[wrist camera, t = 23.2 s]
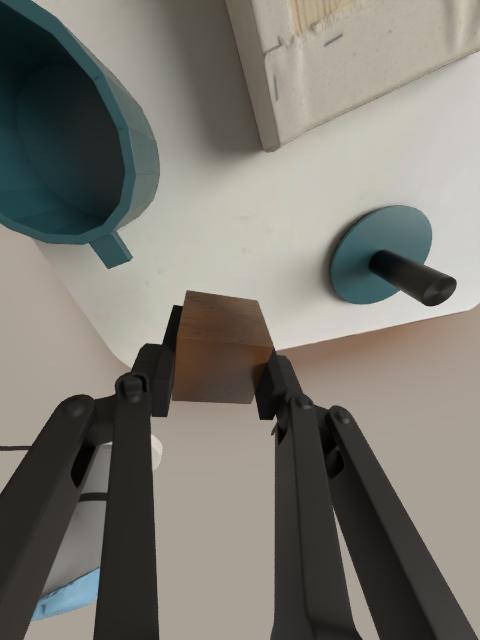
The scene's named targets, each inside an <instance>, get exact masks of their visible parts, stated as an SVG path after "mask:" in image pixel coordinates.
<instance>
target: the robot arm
mask: <svg viewBox="0 0 480 640" xmlns="http://www.w3.org/2000/svg"><path fill="white" fill-rule="evenodd" d="M182 310H183V306H178V305H173V309H172V312H171V315H170V319H169V322H168V326H167V329H166V333H165V336H164V339H163V343H162V345H160V344H149V343H146V344H145V345H144V346H143V347H142V348H141V349H140V350H139V353H138V355H137V358H136V360H135V363H134V365H133V367H132V370H131V372H128V373H125V374H124V375H122V376H120V377H119V378H118V379H117V381H116V383H115V391H116V394H114V395H112V396H109V397H105V398H100V399H95V400H94V399H93V398H92V397H90V396H88V395H83V394H81V395H75V396H72V397H69V398H67V399H65V400H64V401H62V402H61V403H60V404H59V405H58V406H57V408H56V409H55V410H54V412H53V414H52V415H51V417H50V418H49V420H48V421H47V423H46V424H45V426H44V427H43V429H42V430H41V432H40V434H39V435H38V437H37V438H36V440H35V441H34V443H33V444H32V446H11V447H8V446H0V451H13V450H29V451H28V452H27V454H26V455H25V457H24V458H23V460H22V462H21V463H20V465H19V466H18V468H17V469H16V471H15V472H14V474H13V475H12V477H11V478H10V480H9V482H8V483H7V485H6V486H5V488H4V489H3V491H2V492H1V494H0V640H23V639H24V636H25V634H26V631H27V629H28V626H29V624H30V622H32V621H36V620H40V619H44V618H48V617H52V616H55V615H59V614H62V613H66V612H69V611H72V610H75V609H79V608H82V607H84V606H87V605H89V604H91V603H93V602H94V601H95V600H96V599H97V605H96V616H95V617H96V618H95V626H94V638H93V640H159V624H158V598H157V574H156V549H155V523H154V498H153V474H152V448H151V423H150V417H151V413H152V417H167V415H168V410H169V404H170V399H171V394H172V388H173V376H174V363H175V351H176V338H177V333H178V328H179V323H180V319H181V314H182ZM268 332H269V331H268ZM255 397H256V402H257V407H258V413H259V418H260V420H273V418H274V416H275V414H276V417H277V423H276V425H275V427H274V428H273V430H272V433H271V435H274V433H275V613H274V625H273V629H272V633H271V638H270V640H362V638H361V637H360V635H359V633H358V632H357V630H356V628H355V625H354V622H353V618H352V613H351V607H350V602H349V596H348V591H347V585H346V579H345V574H344V568H343V563H342V557H341V552H340V546H339V540H338V535H337V529H336V523H335V518H334V512H333V508H334V511H335V514H336V516H337V519H338V522H339V525H340V528H341V531H342V533H343V536H344V539H345V542H346V545H347V547H348V551H349V553H350V556H351V559H352V562H353V565H354V568H355V570H356V573H357V576H358V579H359V582H360V585H361V587H362V590H363V593H364V596H365V599H366V602H367V604H368V607H369V610H370V613H371V616H372V618H373V622H374V624H375V627H376V630H377V633H378V636H379V638H380V640H478V638H477V636H476V634H475V632H474V631H473V629H472V627H471V625H470V624H469V622H468V620H467V618H466V617H465V615H464V613H463V611H462V609H461V608H460V606H459V604H458V602H457V601H456V599H455V597H454V595H453V594H452V592H451V590H450V588H449V586H448V585H447V583H446V581H445V579H444V577H443V576H442V574H441V572H440V570H439V569H438V567H437V565H436V563H435V562H434V560H433V558H432V556H431V554H430V553H429V551H428V549H427V547H426V546H425V544H424V542H423V540H422V538H421V537H420V535H419V533H418V531H417V530H416V528H415V526H414V524H413V522H412V521H411V519H410V517H409V515H408V514H407V512H406V510H405V508H404V507H403V505H402V503H401V501H400V499H399V498H398V496H397V494H396V492H395V491H394V489H393V487H392V485H391V484H390V482H389V480H388V478H387V476H386V475H385V473H384V471H383V469H382V468H381V466H380V464H379V462H378V460H377V459H376V457H375V455H374V453H373V451H372V450H371V448H370V446H369V444H368V443H367V441H366V439H365V437H364V436H363V434H362V432H361V430H360V428H359V427H358V425H357V423H356V422H355V420H354V418H353V417H352V415H351V414H350V412H348V411H347V410H346V409H345V408H342V407H340V406H332V407H331V408H330V409H329V410H327V409H325V408H322V407H319V406H317V405H314V404H313V401H312V400H311V399H310V398H309V397H308V396H306V395H305V394H303V391H302V389H301V387H300V384H299V382H298V379H297V377H296V375H295V372H294V370H293V367H292V365H291V362H290V361H289V360H288V359H287V357H286V356H281V355H277V354H276V351H275V348H274V347H273V350H272V352H271V355H270V357H269V360H268V362H267V363H266V366H265V368H264V371H263V373H262V376H261V378H260V381H259V384H258V386H257V389H256V391H255ZM110 442H112V445H103V444H106V443H110ZM332 505H333V507H332Z"/></svg>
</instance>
